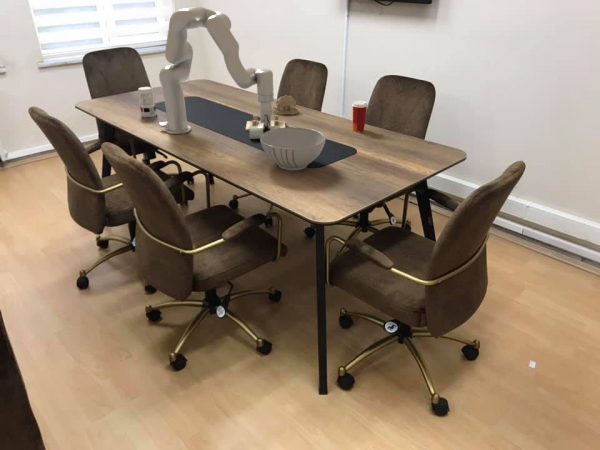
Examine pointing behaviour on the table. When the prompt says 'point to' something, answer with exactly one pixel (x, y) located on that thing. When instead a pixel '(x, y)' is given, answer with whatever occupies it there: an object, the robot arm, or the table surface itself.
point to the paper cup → (359, 115)
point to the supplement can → (147, 102)
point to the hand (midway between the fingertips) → (267, 133)
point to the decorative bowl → (292, 146)
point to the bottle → (258, 131)
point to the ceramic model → (285, 106)
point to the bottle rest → (257, 123)
